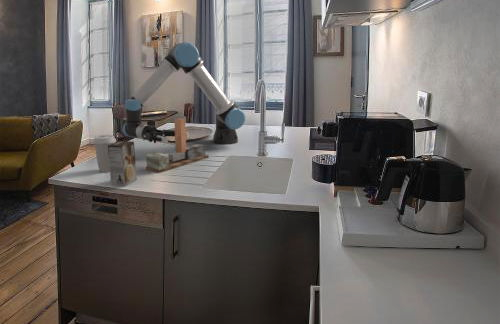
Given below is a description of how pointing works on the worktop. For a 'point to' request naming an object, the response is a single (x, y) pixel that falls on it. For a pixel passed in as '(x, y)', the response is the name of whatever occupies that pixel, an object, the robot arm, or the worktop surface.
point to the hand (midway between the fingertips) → (177, 138)
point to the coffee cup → (103, 151)
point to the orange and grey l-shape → (179, 141)
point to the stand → (162, 163)
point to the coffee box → (122, 163)
